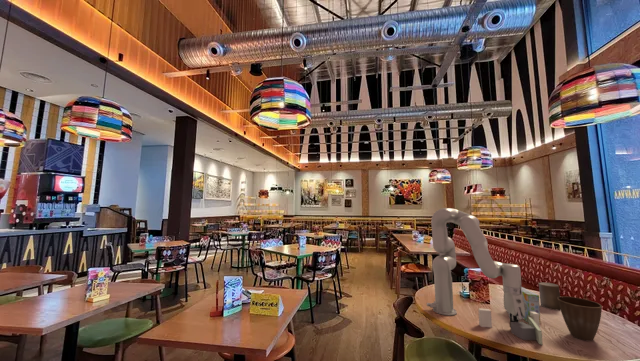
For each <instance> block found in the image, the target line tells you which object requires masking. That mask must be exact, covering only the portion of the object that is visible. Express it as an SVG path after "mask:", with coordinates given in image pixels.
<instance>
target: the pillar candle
mask: <svg viewBox="0 0 640 361" xmlns="http://www.w3.org/2000/svg"><path fill="white" fill-rule="evenodd" d="M538 288H539V289H538V291H539V304H540V306H541V307H542V308H545V309H549V310H553V311H555V310H556V311H561V310H560V306H559V302H558V297H561V293H560V285H558V284H557V283H556V284H555V283H551V282H544V281H543V282H538Z"/></svg>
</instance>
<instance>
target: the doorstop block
mask: <svg viewBox="0 0 640 361" xmlns="http://www.w3.org/2000/svg"><path fill="white" fill-rule="evenodd" d="M510 332H511V334H513V335H514V336H516V337H517V338H519V339H521V340H523V341H537V340H536V334H535V328H533V327H532V326H530V325H528V323H525V322H524V321H519V322H511V328H510Z"/></svg>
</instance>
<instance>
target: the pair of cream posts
mask: <svg viewBox="0 0 640 361" xmlns="http://www.w3.org/2000/svg"><path fill="white" fill-rule="evenodd" d="M477 310H478V325H479V326H480V328H481V327H482V328H493V321H492V320H493V319H492V311H491V309H489V308H478V309H477ZM530 316H531V318H532V319H533V320H534V322H535V323H536V324H537V326H538V327H539V328H540V329H541V325H540V323H541V319H540V320H539V314H538V313H536V312H531V311H530Z"/></svg>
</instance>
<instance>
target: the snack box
mask: <svg viewBox="0 0 640 361" xmlns="http://www.w3.org/2000/svg"><path fill="white" fill-rule="evenodd" d="M521 287H522V297H523V301H524V307H525V317H523V316H521V318H522V320H524V321H525V322H527V323H528V319H527V315H529V316H530V311H531V312H536V313H538V314H539V320H540V321H541V309H540V308H541V307H540V306H541V305H540V294H537V293H535V292H534V291H531V290H529V289H527V288H525V287H523V286H521ZM540 326H541V322H540Z"/></svg>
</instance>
